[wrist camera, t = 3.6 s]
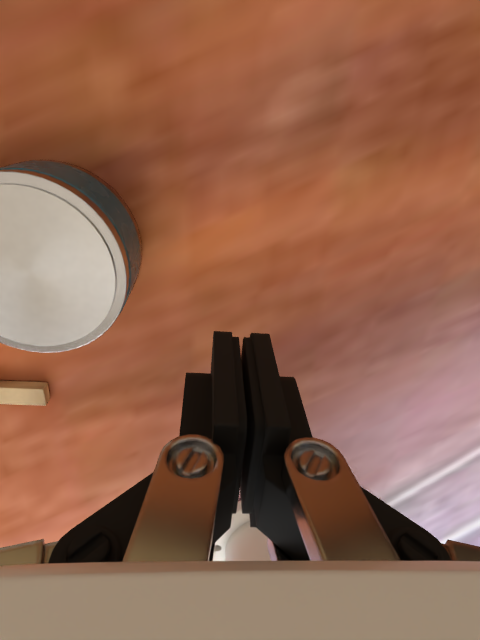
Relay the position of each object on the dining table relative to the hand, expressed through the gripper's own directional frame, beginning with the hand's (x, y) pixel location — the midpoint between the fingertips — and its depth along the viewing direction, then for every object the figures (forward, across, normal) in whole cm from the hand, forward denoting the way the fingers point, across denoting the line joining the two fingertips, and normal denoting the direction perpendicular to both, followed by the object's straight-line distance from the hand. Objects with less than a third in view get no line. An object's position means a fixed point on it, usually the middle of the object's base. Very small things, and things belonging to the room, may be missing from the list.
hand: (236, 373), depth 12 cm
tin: (+13, +9, +1) cm, 16 cm away
